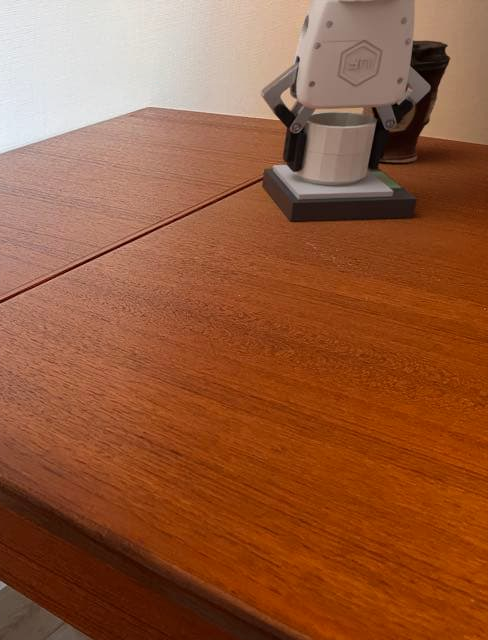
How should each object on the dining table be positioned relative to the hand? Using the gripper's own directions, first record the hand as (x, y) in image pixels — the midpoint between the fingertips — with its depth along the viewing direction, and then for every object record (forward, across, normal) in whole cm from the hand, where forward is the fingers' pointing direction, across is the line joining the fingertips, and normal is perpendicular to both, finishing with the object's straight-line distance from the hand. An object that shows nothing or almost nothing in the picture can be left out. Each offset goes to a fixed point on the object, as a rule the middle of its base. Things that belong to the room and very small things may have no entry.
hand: (331, 165), depth 90 cm
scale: (+4, +1, 0) cm, 4 cm away
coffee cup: (+4, +12, +16) cm, 20 cm away
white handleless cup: (+1, 0, 0) cm, 1 cm away
